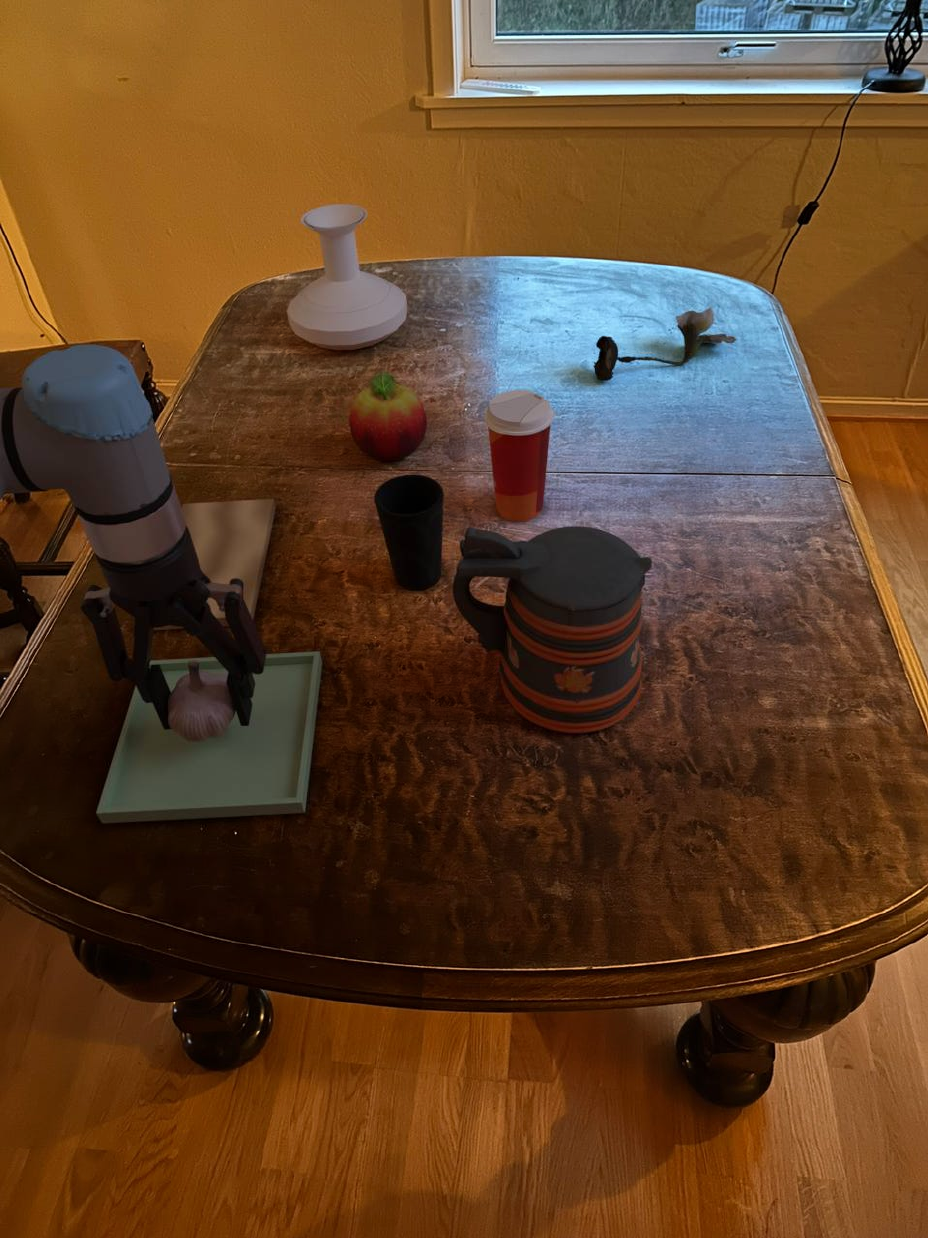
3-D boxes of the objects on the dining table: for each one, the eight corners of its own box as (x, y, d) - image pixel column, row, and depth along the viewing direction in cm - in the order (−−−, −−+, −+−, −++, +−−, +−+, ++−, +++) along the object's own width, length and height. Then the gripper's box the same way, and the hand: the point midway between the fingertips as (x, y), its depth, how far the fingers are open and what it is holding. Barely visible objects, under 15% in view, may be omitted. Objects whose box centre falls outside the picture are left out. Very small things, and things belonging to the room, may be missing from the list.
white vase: (290, 314, 157) (267, 201, 143) (401, 299, 159) (389, 186, 145) (295, 368, 143) (271, 249, 129) (417, 352, 145) (406, 232, 131)
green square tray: (102, 823, 83) (95, 813, 82) (148, 671, 97) (143, 660, 96) (305, 813, 83) (301, 802, 82) (322, 662, 97) (319, 651, 95)
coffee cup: (521, 480, 118) (521, 379, 108) (564, 508, 114) (568, 405, 103) (473, 506, 115) (468, 405, 104) (516, 536, 110) (515, 433, 100)
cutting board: (148, 631, 101) (144, 621, 100) (185, 512, 117) (182, 503, 116) (252, 625, 101) (249, 615, 100) (276, 507, 117) (273, 498, 116)
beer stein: (457, 739, 88) (444, 593, 74) (460, 633, 99) (449, 488, 85) (649, 736, 87) (672, 587, 73) (632, 630, 98) (649, 482, 84)
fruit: (351, 474, 121) (340, 410, 114) (355, 430, 129) (346, 368, 122) (429, 469, 121) (423, 405, 114) (429, 426, 129) (423, 363, 122)
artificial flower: (584, 372, 140) (588, 306, 135) (713, 364, 145) (721, 300, 140) (606, 385, 132) (611, 315, 128) (741, 376, 137) (750, 309, 133)
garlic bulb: (228, 679, 91) (210, 624, 86) (261, 723, 87) (244, 668, 81) (159, 714, 88) (136, 660, 83) (189, 761, 84) (167, 708, 78)
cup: (378, 592, 104) (364, 511, 96) (396, 550, 109) (385, 470, 101) (441, 600, 103) (433, 519, 94) (457, 558, 108) (450, 477, 99)
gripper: (268, 503, 74) (312, 683, 90) (33, 514, 74) (118, 692, 90) (256, 562, 69) (304, 742, 85) (3, 574, 69) (99, 752, 85)
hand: (208, 716), depth 88 cm, fingers closed on garlic bulb, 7 cm apart
